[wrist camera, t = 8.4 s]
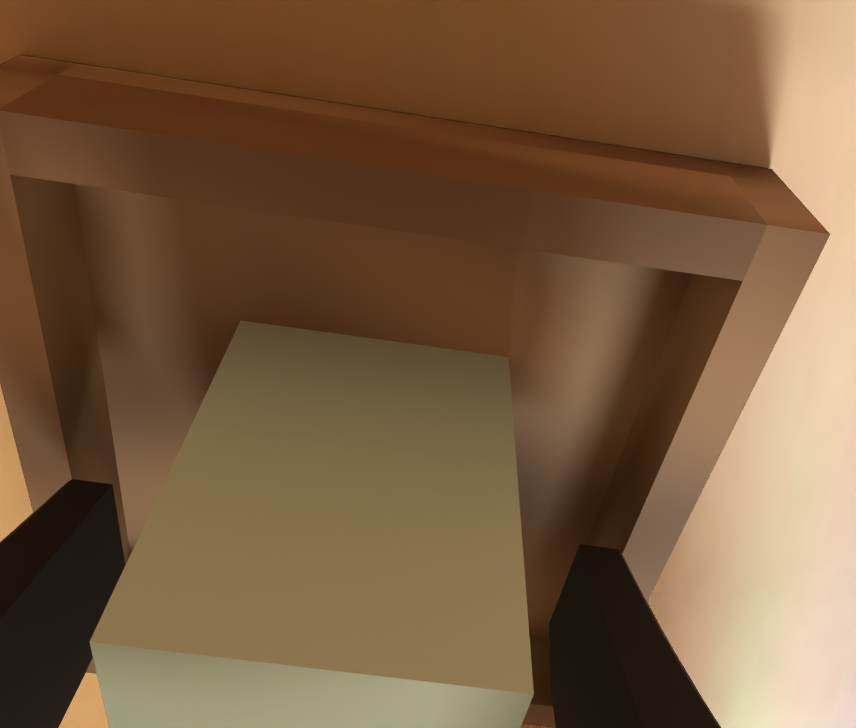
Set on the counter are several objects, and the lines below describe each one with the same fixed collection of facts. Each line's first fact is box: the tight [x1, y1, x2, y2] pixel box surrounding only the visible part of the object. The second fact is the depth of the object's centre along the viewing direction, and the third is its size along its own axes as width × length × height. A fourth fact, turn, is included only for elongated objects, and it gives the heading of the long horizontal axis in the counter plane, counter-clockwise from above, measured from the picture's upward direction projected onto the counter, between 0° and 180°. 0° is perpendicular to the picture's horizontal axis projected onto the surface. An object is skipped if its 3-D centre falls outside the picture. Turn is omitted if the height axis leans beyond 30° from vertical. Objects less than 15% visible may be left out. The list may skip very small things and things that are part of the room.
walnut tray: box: [0, 55, 830, 728], centre depth 13 cm, size 12×11×2 cm
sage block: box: [90, 321, 534, 728], centre depth 11 cm, size 4×4×6 cm
